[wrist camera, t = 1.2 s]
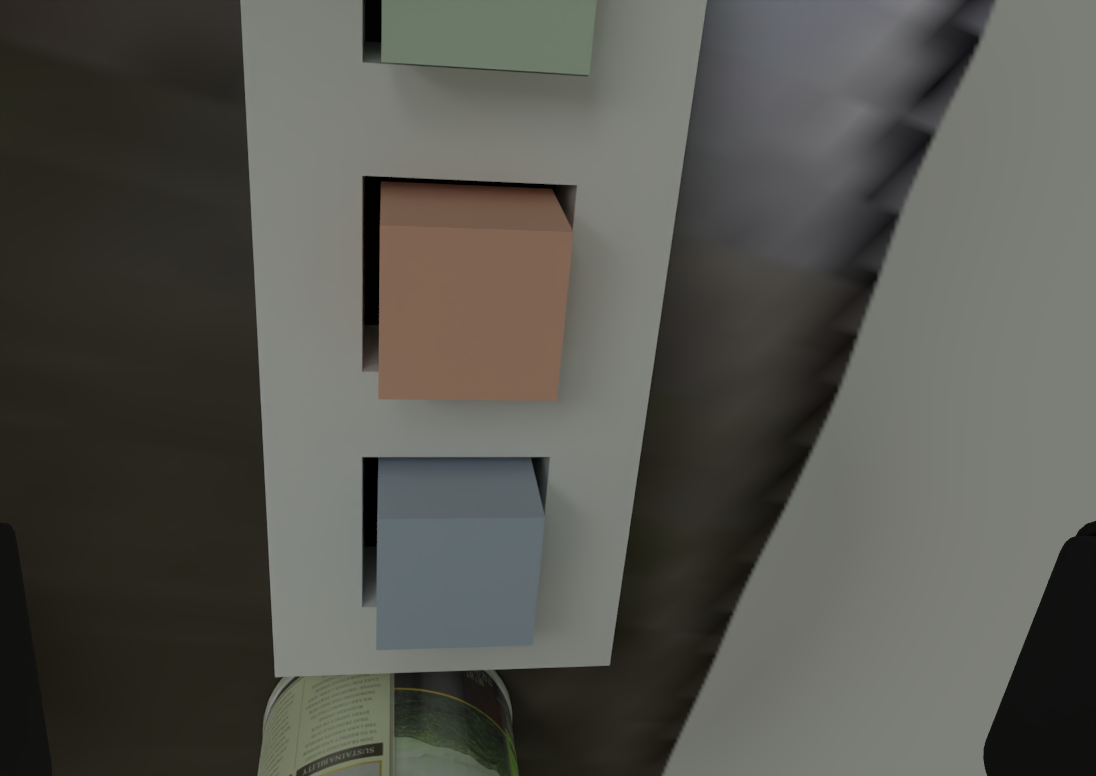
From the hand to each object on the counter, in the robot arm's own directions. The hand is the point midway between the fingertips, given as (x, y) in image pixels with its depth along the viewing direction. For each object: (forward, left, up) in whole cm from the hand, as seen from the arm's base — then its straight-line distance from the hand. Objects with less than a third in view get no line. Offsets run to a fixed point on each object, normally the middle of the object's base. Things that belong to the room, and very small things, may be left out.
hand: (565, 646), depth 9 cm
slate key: (+14, +1, -22) cm, 26 cm away
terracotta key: (+5, +1, -22) cm, 22 cm away
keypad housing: (+5, +1, -24) cm, 25 cm away
